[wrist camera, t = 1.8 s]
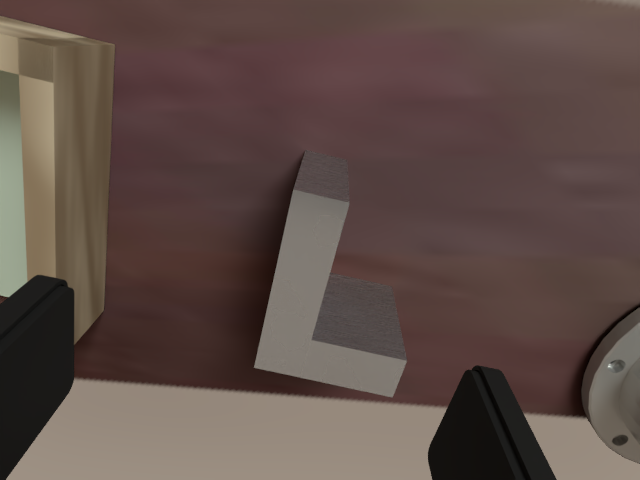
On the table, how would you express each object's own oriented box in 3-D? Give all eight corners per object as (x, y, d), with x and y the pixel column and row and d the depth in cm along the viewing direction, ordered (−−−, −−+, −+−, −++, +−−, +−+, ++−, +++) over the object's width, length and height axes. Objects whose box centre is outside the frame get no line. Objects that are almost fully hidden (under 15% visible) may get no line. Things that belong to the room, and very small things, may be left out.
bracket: (305, 150, 21) (293, 189, 16) (428, 180, 21) (459, 228, 16) (273, 293, 24) (253, 367, 19) (380, 317, 25) (392, 397, 19)
